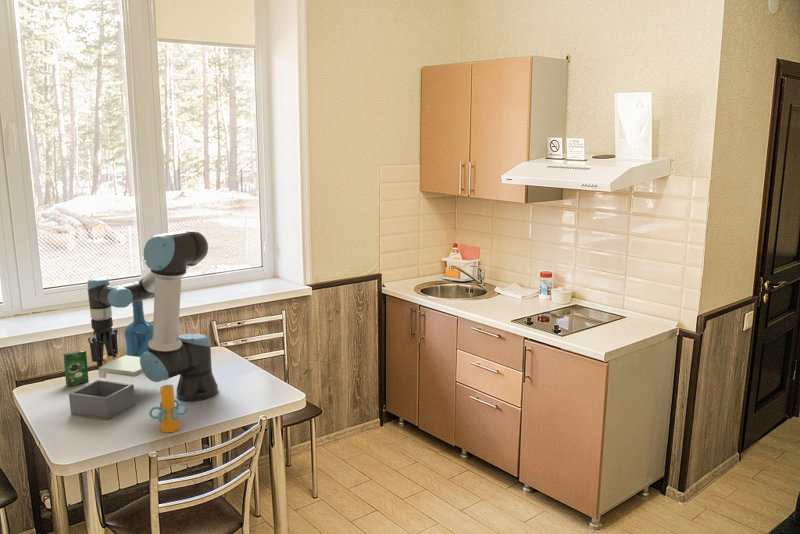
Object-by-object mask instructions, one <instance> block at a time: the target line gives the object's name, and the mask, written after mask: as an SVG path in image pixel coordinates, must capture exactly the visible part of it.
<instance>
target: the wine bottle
mask: <svg viewBox="0 0 800 534" xmlns="http://www.w3.org/2000/svg"><path fill="white" fill-rule="evenodd" d="M131 304H132V315H133V319H132V320H133V321H132V322H131V323H128V325H126V327H125V328H124V330H123V341H124V353H125V354H124V355H127V356H135V357H141V355H142V354H143V353H144V352H147V351H148V342H149V341H150V340H151V339H153V322H149V321H147V320H146V319H145V313H144V302H143V300H141V301H137V302H133V303H131Z"/></svg>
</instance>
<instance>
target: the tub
mask: <svg viewBox="0 0 800 534" xmlns="http://www.w3.org/2000/svg"><path fill="white" fill-rule="evenodd" d="M68 398H69V399H68V400H69V406H70V407H69V408H70V415H71V416H76V417H83V418H89V419H95V420H97V419H98V420H104V421H110V420H111V419H114V418H115V417H117V416H119V415H120V414H122V413H124V412H126V411H127V410H129V409H131V408H133V407H135V406H136V398H135V387H134V384H132V383H126V382H117V381H107V380H101V379H98V380H95V381H93V382H91V383H89V384H86V385H84V386H82V387H80V388H78V389H76V390H74V391H71V392H70V393H68Z"/></svg>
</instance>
